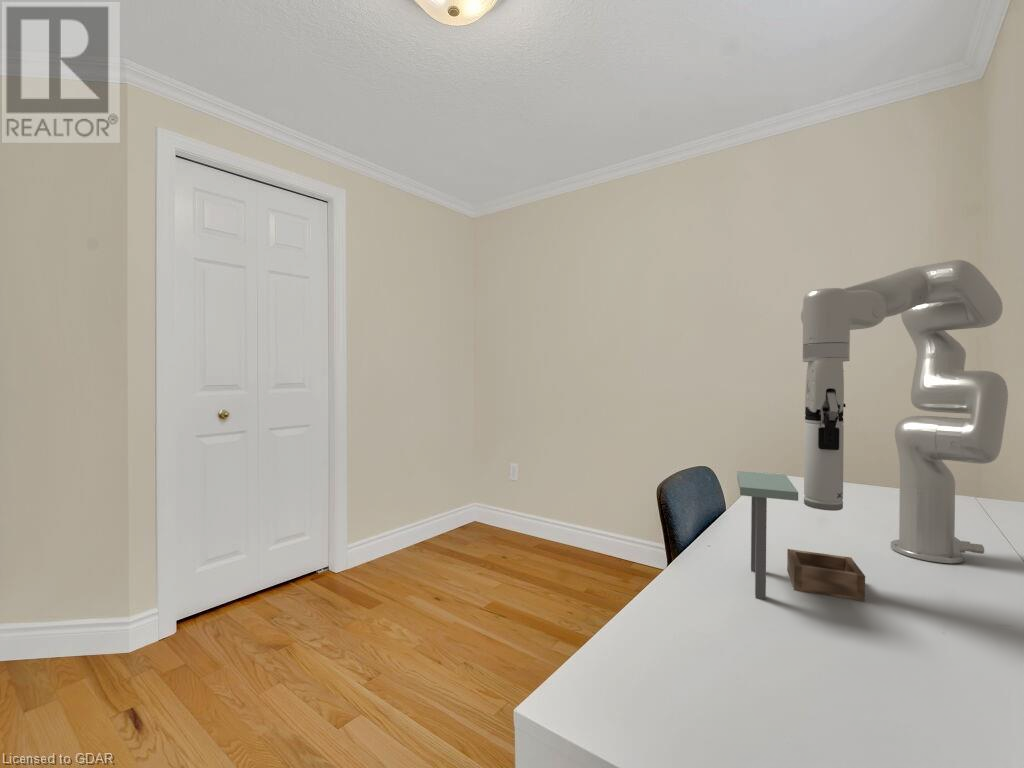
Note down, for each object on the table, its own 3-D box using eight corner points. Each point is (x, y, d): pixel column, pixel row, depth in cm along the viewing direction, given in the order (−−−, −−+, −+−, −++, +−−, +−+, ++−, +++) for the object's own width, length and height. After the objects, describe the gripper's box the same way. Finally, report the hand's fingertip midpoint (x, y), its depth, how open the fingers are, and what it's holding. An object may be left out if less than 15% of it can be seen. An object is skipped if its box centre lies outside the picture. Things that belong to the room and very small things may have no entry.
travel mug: (851, 512, 86) (852, 404, 86) (812, 509, 87) (813, 403, 87) (835, 503, 92) (836, 402, 92) (798, 501, 93) (799, 402, 93)
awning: (784, 571, 96) (785, 474, 96) (797, 607, 80) (798, 492, 80) (736, 564, 99) (737, 471, 99) (739, 597, 84) (740, 487, 84)
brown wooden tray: (850, 580, 92) (851, 557, 92) (865, 601, 83) (865, 576, 83) (787, 570, 96) (787, 548, 96) (794, 589, 87) (794, 565, 87)
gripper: (796, 356, 99) (795, 441, 99) (810, 351, 83) (809, 451, 83) (838, 356, 96) (837, 443, 96) (861, 350, 80) (860, 454, 80)
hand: (824, 446), depth 90 cm, fingers closed on travel mug, 6 cm apart
